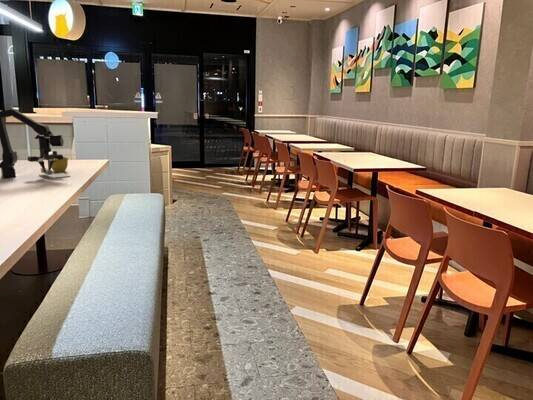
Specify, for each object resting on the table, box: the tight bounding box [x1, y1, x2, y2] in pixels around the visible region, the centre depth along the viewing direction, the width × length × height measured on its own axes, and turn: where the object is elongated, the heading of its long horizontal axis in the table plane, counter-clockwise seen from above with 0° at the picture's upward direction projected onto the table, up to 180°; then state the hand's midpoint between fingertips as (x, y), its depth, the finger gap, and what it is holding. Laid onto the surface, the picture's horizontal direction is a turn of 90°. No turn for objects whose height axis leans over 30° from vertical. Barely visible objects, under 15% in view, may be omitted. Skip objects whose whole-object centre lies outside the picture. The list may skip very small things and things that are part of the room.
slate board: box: [38, 172, 71, 180], centre depth 268 cm, size 13×15×1 cm
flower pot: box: [51, 156, 69, 173], centre depth 285 cm, size 9×9×9 cm
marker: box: [40, 167, 53, 175], centre depth 266 cm, size 2×12×2 cm, turn 45°
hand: (47, 171), depth 265 cm, fingers closed on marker, 2 cm apart
